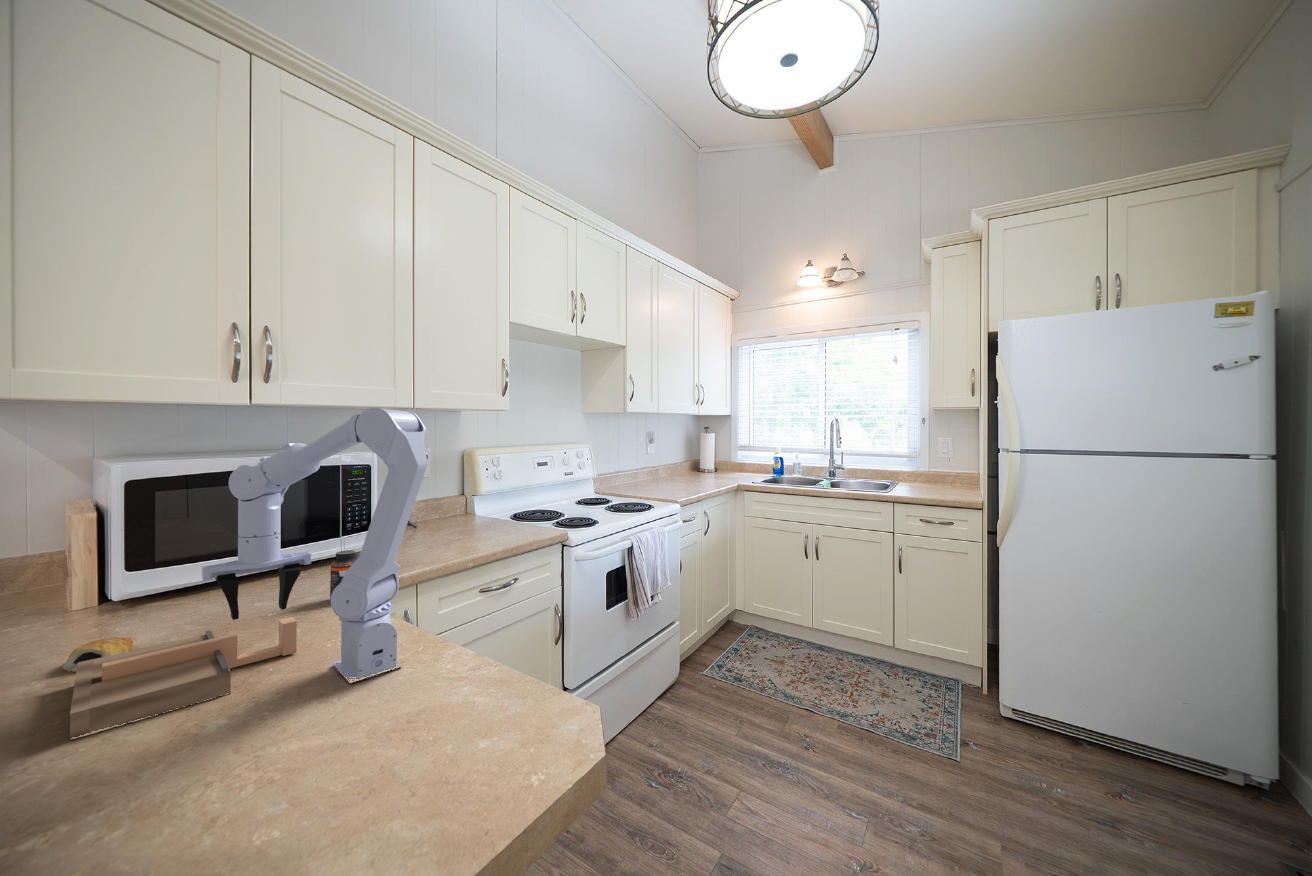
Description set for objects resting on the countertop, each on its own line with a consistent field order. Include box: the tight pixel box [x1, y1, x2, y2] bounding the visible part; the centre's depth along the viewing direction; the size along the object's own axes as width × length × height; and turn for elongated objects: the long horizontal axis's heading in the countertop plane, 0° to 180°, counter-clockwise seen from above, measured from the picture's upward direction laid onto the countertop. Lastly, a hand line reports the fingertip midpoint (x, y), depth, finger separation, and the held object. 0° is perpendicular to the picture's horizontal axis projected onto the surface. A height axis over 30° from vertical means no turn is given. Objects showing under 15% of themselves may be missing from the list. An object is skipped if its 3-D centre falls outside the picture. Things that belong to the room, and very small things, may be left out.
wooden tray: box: [69, 629, 232, 739], centre depth 75 cm, size 20×16×4 cm
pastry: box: [62, 636, 134, 673], centre depth 85 cm, size 9×7×4 cm
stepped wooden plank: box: [102, 616, 298, 682], centre depth 80 cm, size 3×23×6 cm, turn 138°
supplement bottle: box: [329, 549, 358, 601], centre depth 116 cm, size 6×6×11 cm
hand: (259, 612), depth 85 cm, fingers open, 6 cm apart
